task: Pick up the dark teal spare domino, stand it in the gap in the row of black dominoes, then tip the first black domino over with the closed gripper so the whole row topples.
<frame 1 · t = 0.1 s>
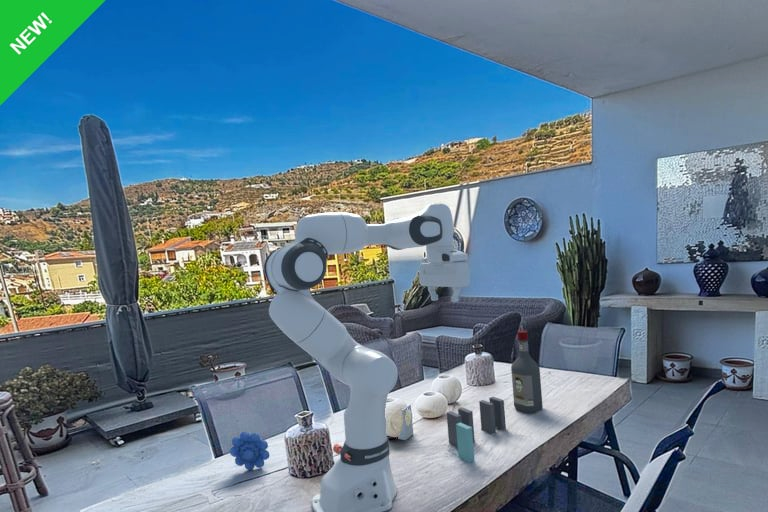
hand: (444, 301, 126), 48 cm above the table, tool pointing down, fingers open, 8 cm apart
domino 4: (488, 431, 141), on the table
liquor: (528, 409, 158), on the table
domino 2: (467, 439, 136), on the table
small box: (399, 436, 143), on the table
domino 1: (456, 444, 133), on the table
domino 5: (498, 427, 144), on the table
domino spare: (466, 458, 123), on the table
blue flower: (250, 472, 126), on the table
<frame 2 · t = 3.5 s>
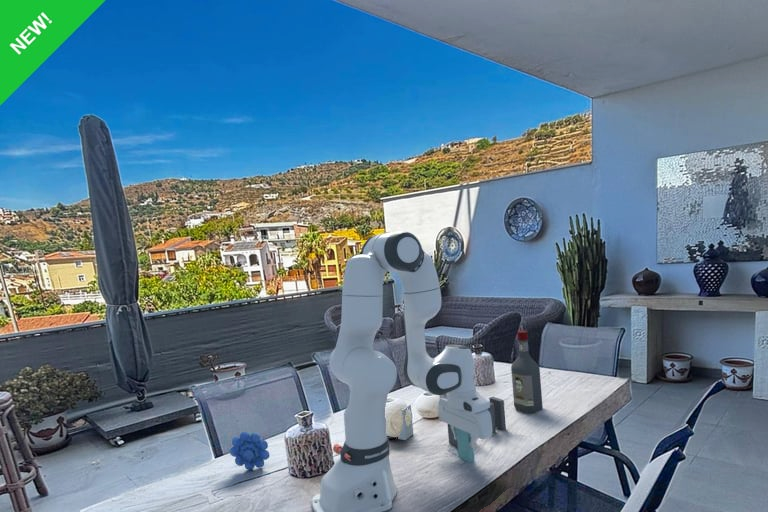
hand: (465, 443, 124), 5 cm above the table, tool pointing down, fingers closed on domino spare, 5 cm apart
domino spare: (466, 458, 123), on the table, touching gripper
everything else where it was.
when the fingers open (6 cm above the table, at t = 8.4 s): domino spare stays where it is, on the table.
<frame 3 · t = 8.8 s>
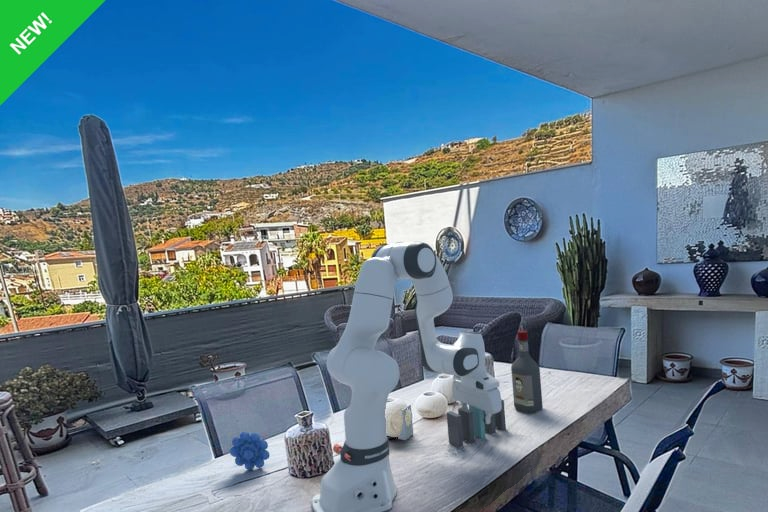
hand: (476, 419, 139), 6 cm above the table, tool pointing down, fingers open, 8 cm apart
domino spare: (478, 435, 139), on the table
everything else where it was.
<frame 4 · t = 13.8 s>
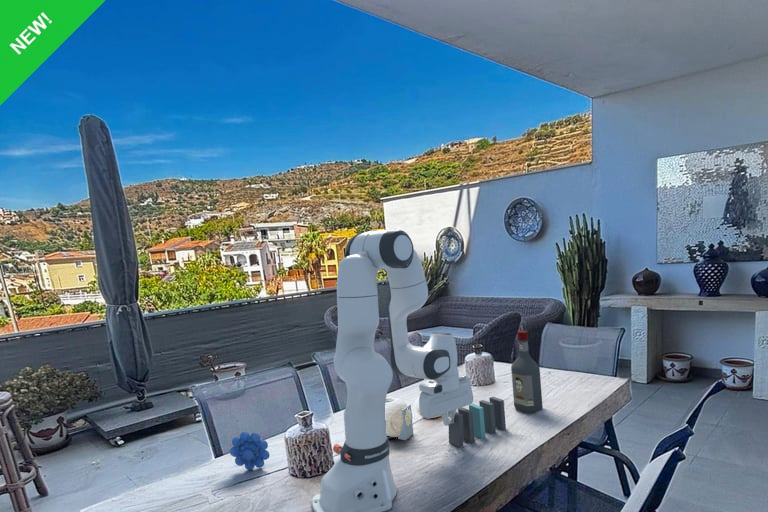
hand: (449, 424, 132), 7 cm above the table, tool pointing down, fingers closed
nothing on the table moved.
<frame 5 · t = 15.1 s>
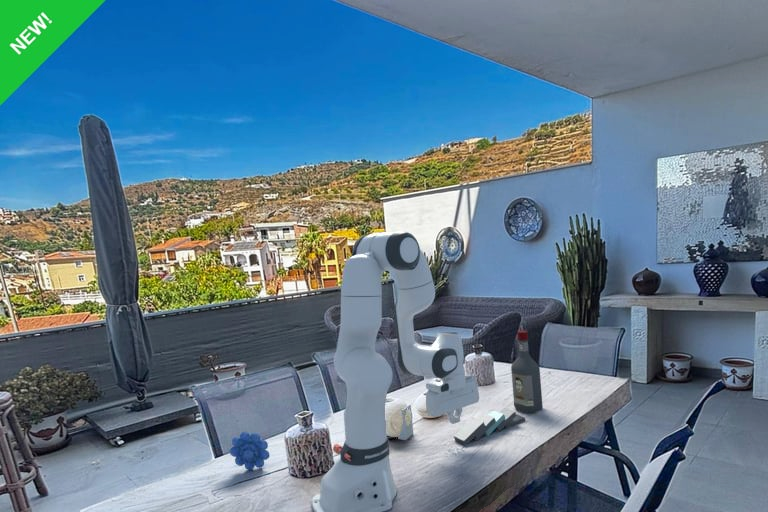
hand: (455, 422, 133), 7 cm above the table, tool pointing down, fingers closed
domino 4: (492, 427, 142), point 1 cm above the table, tilted 74°
domino 2: (470, 435, 137), point 1 cm above the table, tilted 69°, touching domino 1, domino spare
domino 1: (459, 440, 134), point 1 cm above the table, tilted 69°, touching domino 2
domino 5: (500, 425, 144), on the table, tilted 90°
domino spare: (481, 431, 139), point 1 cm above the table, tilted 69°, touching domino 2
everything else where it was.
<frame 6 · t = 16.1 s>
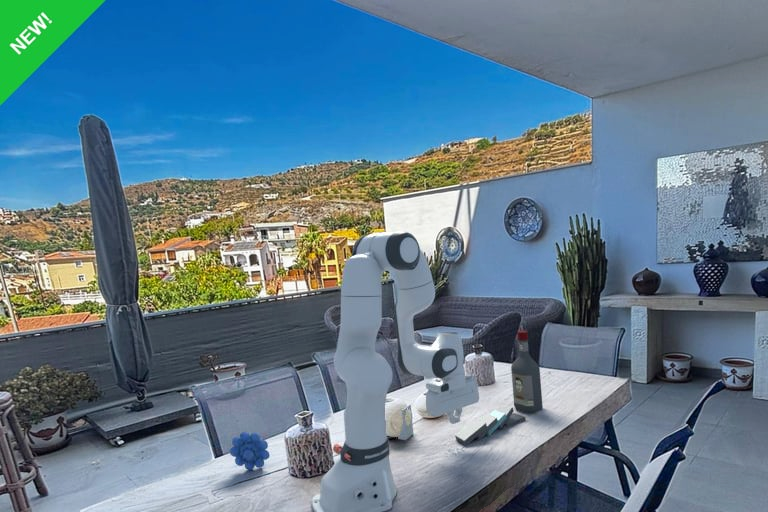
hand: (455, 422, 133), 7 cm above the table, tool pointing down, fingers closed
domino 4: (494, 425, 143), point 1 cm above the table, tilted 72°, touching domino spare
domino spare: (482, 431, 140), point 1 cm above the table, tilted 70°, touching domino 2, domino 4
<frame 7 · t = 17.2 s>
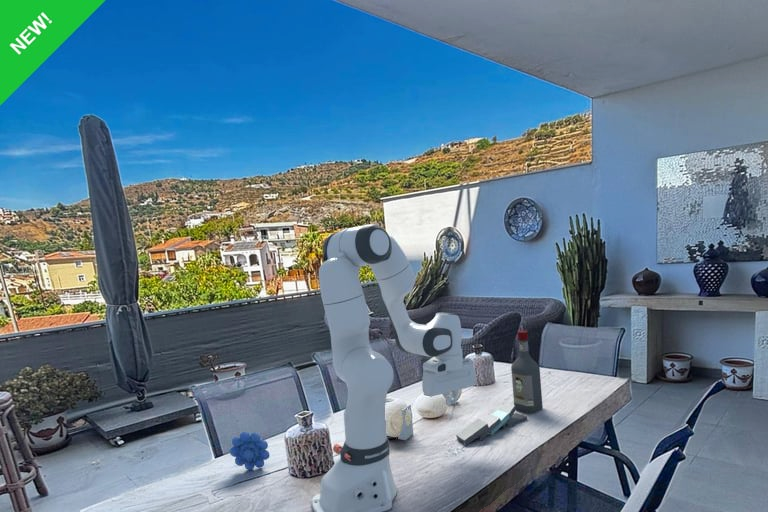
hand: (451, 404, 133), 13 cm above the table, tool pointing down, fingers closed
domino 4: (497, 424, 144), point 1 cm above the table, tilted 71°, touching domino 5, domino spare
domino 2: (475, 434, 137), point 1 cm above the table, tilted 71°
domino 1: (460, 439, 134), point 1 cm above the table, tilted 71°
domino 5: (502, 424, 145), on the table, tilted 90°, touching domino 4
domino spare: (485, 430, 140), point 1 cm above the table, tilted 70°, touching domino 4
everything else where it was.
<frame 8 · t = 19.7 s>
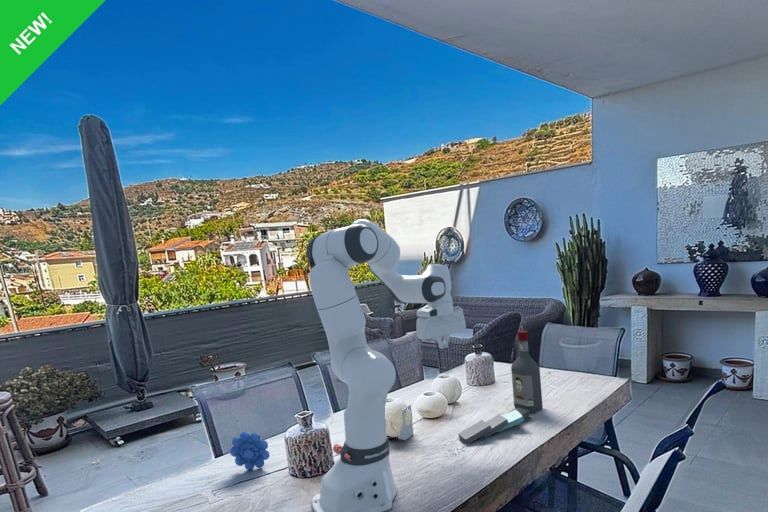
hand: (443, 347, 145), 29 cm above the table, tool pointing down, fingers closed
domino 4: (509, 419, 145), point 2 cm above the table, tilted 90°, touching domino 5, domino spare
domino 2: (480, 433, 138), point 1 cm above the table, tilted 72°, touching domino 1, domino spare
domino 1: (462, 439, 135), point 1 cm above the table, tilted 74°, touching domino 2
domino 5: (506, 424, 146), on the table, tilted 90°, touching domino 4
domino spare: (494, 426, 142), point 1 cm above the table, tilted 73°, touching domino 2, domino 4
everything else where it was.
at the end: domino 5 tilted 90°; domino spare tilted 74° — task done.
